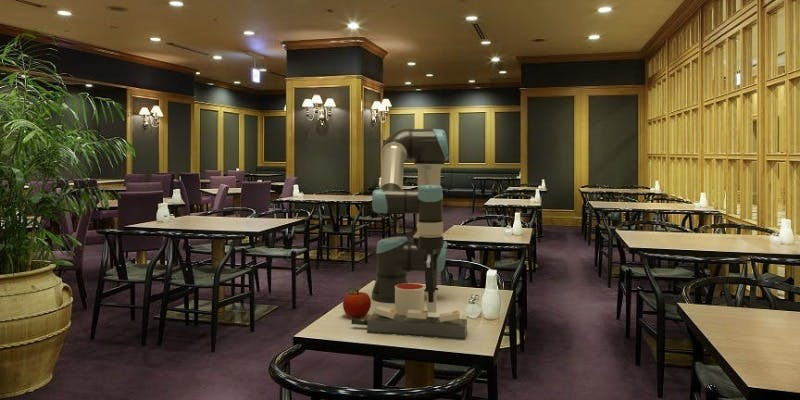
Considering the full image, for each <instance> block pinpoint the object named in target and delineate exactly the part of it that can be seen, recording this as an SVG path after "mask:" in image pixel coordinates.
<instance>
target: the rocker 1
mask: <svg viewBox="0 0 800 400" xmlns="http://www.w3.org/2000/svg"><path fill="white" fill-rule="evenodd" d="M374 313H376V314H379V315H382V316H385V317H388V318H392V319H394V317H395V316H396V313H397V311H395V309H391V308H388V307H385V306H382V305H378V306H377V307H376V308H375V312H374Z"/></svg>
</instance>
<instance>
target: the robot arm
mask: <svg viewBox="0 0 800 400" xmlns="http://www.w3.org/2000/svg"><path fill="white" fill-rule="evenodd" d="M380 156H381V159H382V166H381V167H382V168H381V175H380V178H381V179H380V185H379V189H374V190H373V191H372V199H371V204H372V205H371V206H372V211H373V212H375V213H378V214H379V213H381V214H417V217H416V218H417V219H416V220H417V221H416V222H417V223H416V229H417V230H416V232H415V234H414V235H412V240H409V239H408V237H407V236H392V237H386V238H382V239H380V240H378V241H377V244H376V251H375V252H376V278H375V281H374V285H373V287H372V290H371V299H372V300H375V301H377V302H382V303H395V286H396V285H398V284H404V283H409V281H408V273H407V272H424V282H425V287H424V293H425V292H426V311H427V312H428V313H430V314H431V313H434V314H435V313H437V291H439V287H437V286H438V282H437V281H438V272H442V271H443V270H444V267H445V266H446V265H445V264H446V260H447V259H446V258H447V251H448V242H447V241H446V240H444V235H443V234H444V220H443V219H444V218H443V216H444V215H443V213H444V212H443V211H444V210H443V208H444V204H443V202H444V200H443V199H444V194H443V187H442V186H441V170H442V168H444V166H445V164H446V163H445V162H446V161H448V160H449V157H450V156H449V146H448V139H447V134H446V132H445V130H444V129H439V128H438V129H437V128H403V129H399V130H397V131H395V132H393V133H391V135H389V136H388V137H387V138H386V139H385V141H384V142H383V144H382V146H381V149H380ZM406 160H410V161H412V160H413V166H415V168H416V169H417V189H403V187H404V165H405V161H406Z"/></svg>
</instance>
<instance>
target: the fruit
mask: <svg viewBox="0 0 800 400" xmlns="http://www.w3.org/2000/svg"><path fill="white" fill-rule="evenodd" d="M346 290H347V291H348V290H354V291H353V292H348V293H346V295H344V297H343V301H342V309H343V311H344V313H345V314H346V315H347V316H348V317H350V318H352V319H359V318H363V317H366V316H367V314H368V313H369V311H370V309H371V305H372V301H371V297H370V295H369V294H368V293H366V292H362V291H360V290H359V289H356V288H355V287H349V288H348V287H347V289H346Z"/></svg>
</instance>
